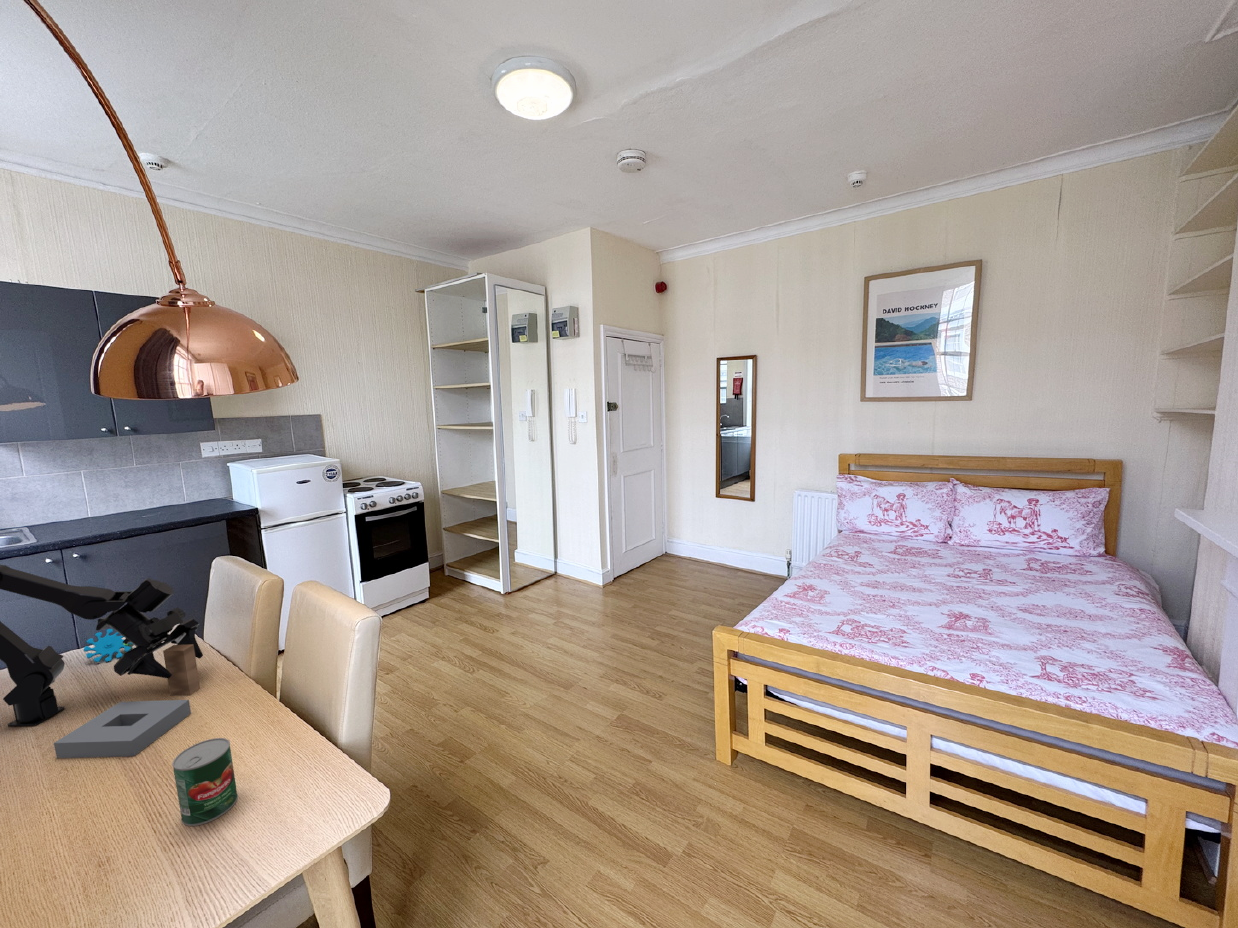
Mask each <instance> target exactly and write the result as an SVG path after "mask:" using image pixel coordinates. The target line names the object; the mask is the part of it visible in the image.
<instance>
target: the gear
mask: <svg viewBox="0 0 1238 928" xmlns="http://www.w3.org/2000/svg"><path fill="white" fill-rule="evenodd" d="M113 632H114V629H113V628H106V635H104V637H102V635H103V632H101V631H98V632H96V633H94V634H95V637H96V638H97V639H98V641H94V638H92V637H91V638H89V639H87V640H86V643H87V644H88V645H86V646H85V647H83V652H85V653H86V652H87V653H86V658H87V659H88V660H89V659H91V658H92V657H94V658H93V662H94V663H99V662H101V660H102V659H103V658H104V657H105V658H104V662H106V663H109V662H108V661H110V662H112V656H113V655H114V654H115V653H117V654H116V659H120V657H122V656H123V655H124V653H126V652H128V651H130V650H132V649H133V647H135V645H134V644H132V643H131V642H130V643H128V644H125V643H123V641H124V640H125V639H124V637H123V636H122V635H120V634H119V633H118V632H117V631H116V632H114V633H113ZM112 633H113V634H112ZM110 634H111V635H110ZM89 645H93V646H94V647H90V646H89ZM131 648H132V649H131ZM121 649H124V653H122V652H121V651H120V650H121ZM91 651H92V652H91ZM93 652H94V653H93ZM97 655H100V656H97ZM106 656H107V657H106Z"/></svg>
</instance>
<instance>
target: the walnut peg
mask: <svg viewBox="0 0 1238 928" xmlns="http://www.w3.org/2000/svg"><path fill="white" fill-rule="evenodd" d="M162 652H163V659H164V665H165V668H166V669H167V670H168V671H169V672H170V673H171V674H172V676H171V677H170V678H166V679H167V683H168V684H167V685H168V689H169V695H170V696H172V697H173V696H174V697H175V696H176V697H177V696H178V697H179V696H191V695H193V694H194V693H196V692H197V691H199V689H200V690H201V685H200V677H199V672H198V666H197V659H196V658H197V657H195V651H194V644H190V645H177V644H172V645H171V646H170V647H168V648H166V649H164V650H163V651H162Z"/></svg>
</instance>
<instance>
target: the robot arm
mask: <svg viewBox="0 0 1238 928" xmlns="http://www.w3.org/2000/svg"><path fill="white" fill-rule="evenodd" d="M0 590H1V591H6V592H9V593H12V594H17V595H21V596H25V597H29V598H32V599H37V600H40V601H45V602H47V603H51V604H55V605H57V606H59V607H61V608H63V609H64V610H66V611H67V613H69V614H73V615H74V616H76V617H80V618H82V619H84V620H97V624H96V627H95V630H96V631H102V630H107V629H110V628H111V629H113V631H116V632H118V633H119V634H118V635H120V636H123V638H124V639H123V640H124V641H123V643H125V644H128V643H130V642H131V643H132V644H134V647H132V649H130V650H129V651H128V652H124V653H123V656H122V657H121V658H118V660H117V662H115V664H113V670H114V671H113V672H114V673H116V674H117V675H118V676H120V677H121V676H123V675H125V674H126V675H128V676H130V675H133V674H134V675H144V676H150V677H151V676H152V677H157V678H162V679H163V678H164V679H167V678H170V677H171V676H172V674H171V673H170V672H169V671H168V670H167V669H166V666H165V667H164V665H162V664H161V663H160V662H159V661H157V660H156V659H155V655H154V652H156V651H157V650H159V649H161V648H163V647H165V646H166V645H168V644H170V643H171V644H172V645H190V644H194V651H195V657H196V658H197V659H202V658H203V656H204V654H203V652H202V650H201V648H200V645H199V643H198V642H197V639H196V632H197V630H198V626H199V625H200V623H199V622H198V621H197V620H196V619H194V618H189V619H186V620H184V618H186V613H185V612H184V610H183V609H181V608H180V607H178V606H177V607H175V608H173V609H171V610H169V611H167V612H166V613H167V614H166V615H167V616H165V617H163V618H161V619H159V618H158V617H155V616H154V617H152V618H149V617H148V616H146V614H147V613H149V612H152V613H153V612H155V611H156V610H157V609H158V608H160V606H161V605H162V604H164V603H165V602H166V601H167V600H168V599H169V598H170V597H171V596H172V595H174V593H175V591H174V589H173V588H172V587H171V586H170V585H169V584H167V583H166V582H164V581H163V582H162V581H160V580H155V579H152V578H150V577H147V578H145V580H143V581H142V582H141V583H140V585H138V587H136V588H135V589H134V590H133V591H132V590H131V591H130V590H129V591H128V590H127V591H125V590H124V591H119V590H118V591H114V590H112V589H110V588H105V587H97V586H87V585H86V586H83V585H82V586H81V585H80V586H78V585H72V584H68V583H64V582H61V581H57V580H54V579H50V578H46V577H43V576H39V575H36V574H33V573H30V572H26V571H23V570H19V569H15V568H13V567H10V566H8V565H6V564H0ZM108 613H109V614H108ZM107 614H108V615H107ZM106 615H107V616H106ZM104 616H106V617H104ZM175 626H176V627H175ZM63 658H64V655H62V654H59V653H58V652H56V650H55V649H54V648H53V647H52V646H51V645H48V646H46V647H45V648H43V649H41V648H37V647H33V646H32V645H30V644H29V643H28V642H26V641H25V640H24V639H23V638H22V637H20V636H19V635H18V634H17V633H16V632H14V631H13V630H11V628H10V627H8V626H7V625H5V623H3V622H2V621H1V620H0V661H1V662H3V663H4V664H5V666H6V668H7V673H8V675H9V678H10V679H11V680H12V681H13V682H14V684H15V686H14V687H13V688H12V689H11V690H10V691H9V692H8V693H7V694H6V695H5V696H4V697H3V698H2V699H3V701H4V702H5V704H7V705H8V706H12V709H13V713H14V718H15V719H14V720H12V721H11V722H9V723H7V727H32V726H37V725H39V724H41V723H43V722H44V721H46V720H48V719H49V718H51V717H53V716H54V715H56V714H58V713H60V712H62V711H63V710H65V709H66V707H65V706H63V705H62V706H58V701H57V697H56V695H55V691H54V688H51V685H52V684H53V683H54V682H55V680H56V679H57V678H58V677H59V675H60V674H62V672H63V670H64V669H65V665H66V664H65V660H63Z"/></svg>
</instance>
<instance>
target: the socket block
mask: <svg viewBox="0 0 1238 928" xmlns="http://www.w3.org/2000/svg"><path fill="white" fill-rule="evenodd" d="M191 714H192V712H191V705H190V699H171V700H169V699H167V700H166V699H165V700H164V699H163V700H140V701H139V700H136V701H135V700H134V701H133V700H131V701H130V700H129V701H119V702H118V703H116V704H114V705H113V706H111V707H109V708H108V709H106V710H104V711H103V712H102V713H100V714H98V715H97V716H95V717H93V718H91V720H89V721H87V722H85V723H83V724H82V725H81V726H79V727H77V728H75V729H74V730H72V731H71V732H69V733H67V734H66V735H64V736H62V737H61V738H60V739H58V740H56V741H55V742H53V746H54V751H55V756H56V759H79V758H80V759H81V758H82V759H83V758H85V759H86V758H87V759H88V758H112V757H113V758H115V757H116V758H117V757H118V758H119V757H120V758H121V757H123V758H124V757H135V756H137V754H139V753H140V752H142V751H144V750H145V749H146V748H148V747H149V745H151V744H152V743H154V742H155V741H157V740H158V739H159V738H160V737H162V736H163V735H164V734H166V733H167V732H168V731H169V730H171V729H172V728H174V727H175V726H176V725H178V724H179V723H181V721H183V720H184V719H185V718H187V717H188V716H190V715H191Z"/></svg>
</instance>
